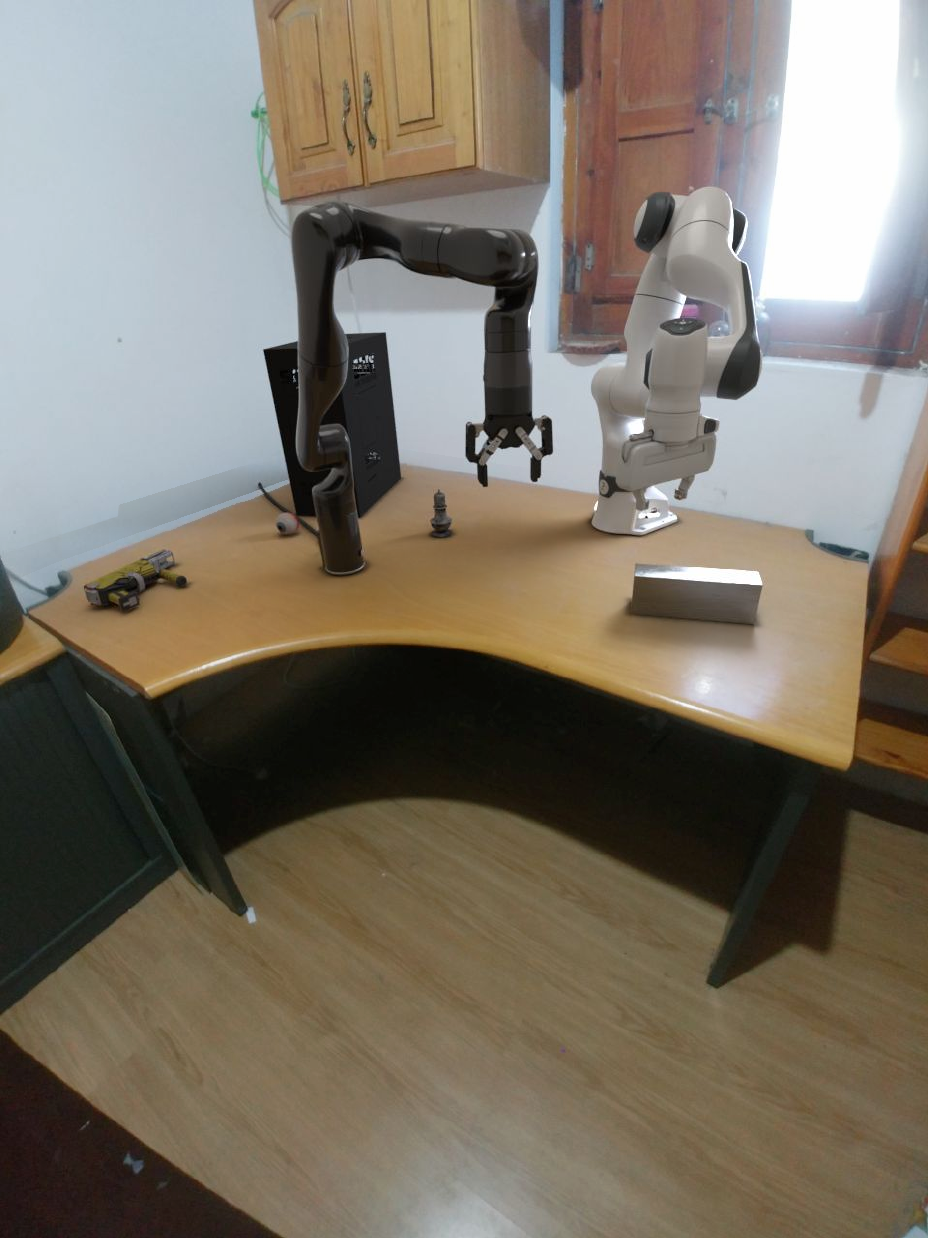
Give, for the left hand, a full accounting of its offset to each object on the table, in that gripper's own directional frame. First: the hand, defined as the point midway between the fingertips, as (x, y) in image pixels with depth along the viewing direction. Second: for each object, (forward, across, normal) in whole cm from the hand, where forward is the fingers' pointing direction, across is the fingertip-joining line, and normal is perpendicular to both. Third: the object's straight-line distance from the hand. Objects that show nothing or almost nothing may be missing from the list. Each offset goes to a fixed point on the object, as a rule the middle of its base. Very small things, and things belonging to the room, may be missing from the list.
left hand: (509, 483), depth 102 cm
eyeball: (+29, -47, +64) cm, 84 cm away
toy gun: (+29, -76, +39) cm, 90 cm away
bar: (+29, +35, -3) cm, 46 cm away
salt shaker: (+29, -6, +52) cm, 60 cm away
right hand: (+7, +28, +1) cm, 29 cm away
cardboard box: (+29, -30, +92) cm, 101 cm away
